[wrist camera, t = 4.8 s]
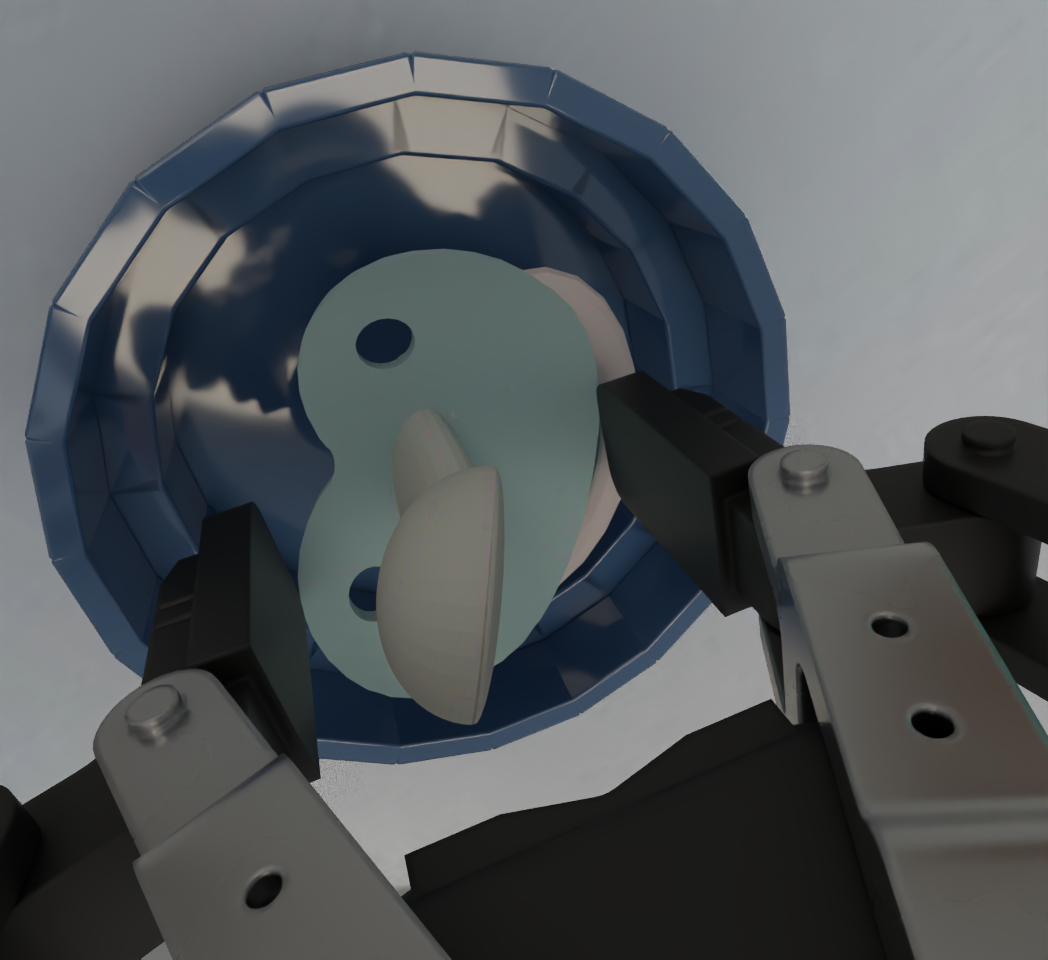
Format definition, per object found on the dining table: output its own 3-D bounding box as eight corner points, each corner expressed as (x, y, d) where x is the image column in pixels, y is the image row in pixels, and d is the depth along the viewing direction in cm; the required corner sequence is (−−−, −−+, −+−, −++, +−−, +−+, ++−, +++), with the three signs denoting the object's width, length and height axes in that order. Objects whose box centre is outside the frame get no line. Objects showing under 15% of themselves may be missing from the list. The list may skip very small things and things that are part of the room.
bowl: (246, 694, 19) (240, 851, 15) (-49, 168, 12) (-190, 203, 9) (700, 525, 20) (801, 627, 16) (635, -5, 14) (770, -41, 10)
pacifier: (653, 243, 13) (289, 214, 11) (931, 348, 8) (333, 329, 6) (588, 598, 16) (293, 626, 14) (756, 846, 11) (324, 944, 9)
